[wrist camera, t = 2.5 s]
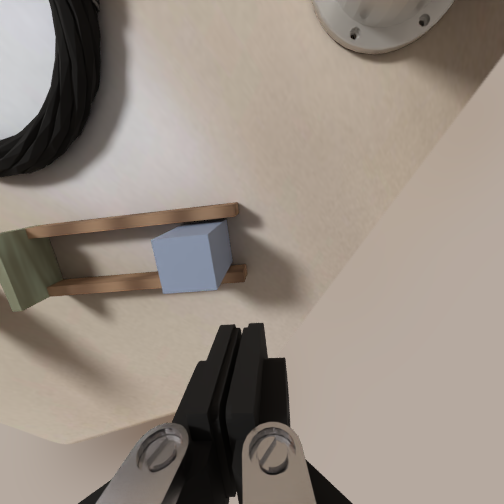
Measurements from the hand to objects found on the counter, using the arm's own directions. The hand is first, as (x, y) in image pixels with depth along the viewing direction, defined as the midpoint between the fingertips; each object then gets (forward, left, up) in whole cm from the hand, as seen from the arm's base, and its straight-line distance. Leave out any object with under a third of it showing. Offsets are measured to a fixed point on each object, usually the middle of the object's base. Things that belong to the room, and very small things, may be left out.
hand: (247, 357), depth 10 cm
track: (+15, 0, -20) cm, 25 cm away
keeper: (+7, 0, -20) cm, 21 cm away
